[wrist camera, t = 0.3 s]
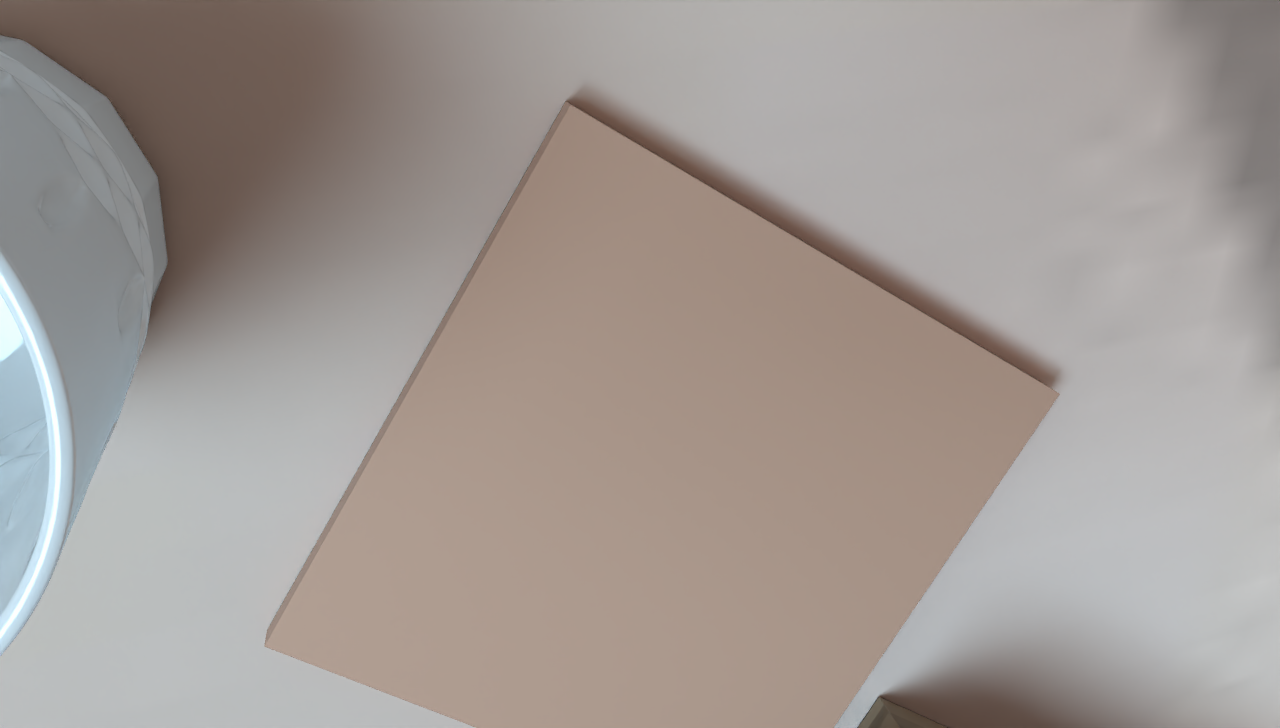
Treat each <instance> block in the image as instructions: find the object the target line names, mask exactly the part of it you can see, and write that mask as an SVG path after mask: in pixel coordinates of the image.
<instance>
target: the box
mask: <svg viewBox="0 0 1280 728" xmlns="http://www.w3.org/2000/svg"><path fill="white" fill-rule="evenodd" d="M858 728H948V727H945V726H943V725H941V724H939V723H936V722H934V721H932V720H930V719H927V718H925V717H923V716H921V715H918V714H916V713H914V712H912V711H910V710H907V709H905V708H903V707H901V706H898V705H896V704H894V703H892V702H889V701H887V700H885V699H883V698H881V697H879V698H878V699H877V701H876V702H875V703H874V705H873V706H872V708H871V709H870V711H869V712H868V714H867V715H866V717H865V718H864V720H863V721H862V723H861V724H860V725H859V727H858Z"/></svg>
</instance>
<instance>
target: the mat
mask: <svg viewBox="0 0 1280 728" xmlns="http://www.w3.org/2000/svg"><path fill="white" fill-rule="evenodd" d="M1058 396H1059V393H1057V392H1056V391H1054V390H1053V389H1051V388H1050V387H1048V386H1047V385H1045V384H1043V383H1042V382H1040V381H1038V380H1037V379H1035V378H1033V377H1032V376H1030V375H1028V374H1027V373H1025V372H1023V371H1021V370H1020V369H1018V368H1016V367H1015V366H1013V365H1011V364H1010V363H1008V362H1006V361H1005V360H1003V359H1001V358H999V357H998V356H996V355H994V354H993V353H991V352H989V351H988V350H986V349H984V348H983V347H981V346H979V345H977V344H976V343H974V342H972V341H971V340H969V339H967V338H966V337H964V336H962V335H961V334H959V333H957V332H955V331H954V330H952V329H950V328H949V327H947V326H945V325H944V324H942V323H940V322H939V321H937V320H935V319H934V318H932V317H930V316H928V315H927V314H925V313H923V312H922V311H920V310H918V309H917V308H915V307H913V306H912V305H910V304H908V303H906V302H905V301H903V300H901V299H900V298H898V297H896V296H895V295H893V294H891V293H890V292H888V291H886V290H884V289H883V288H881V287H879V286H878V285H876V284H874V283H873V282H871V281H869V280H868V279H866V278H864V277H862V276H861V275H859V274H857V273H856V272H854V271H852V270H851V269H849V268H847V267H846V266H844V265H842V264H840V263H839V262H837V261H835V260H834V259H832V258H830V257H829V256H827V255H825V254H824V253H822V252H820V251H818V250H817V249H815V248H813V247H812V246H810V245H808V244H807V243H805V242H803V241H802V240H800V239H798V238H797V237H795V236H793V235H791V234H790V233H788V232H786V231H785V230H783V229H781V228H780V227H778V226H776V225H775V224H773V223H771V222H769V221H768V220H766V219H764V218H763V217H761V216H759V215H758V214H756V213H754V212H753V211H751V210H749V209H747V208H746V207H744V206H742V205H741V204H739V203H737V202H736V201H734V200H732V199H731V198H729V197H727V196H725V195H724V194H722V193H720V192H719V191H717V190H715V189H714V188H712V187H710V186H709V185H707V184H705V183H703V182H702V181H700V180H698V179H697V178H695V177H693V176H692V175H690V174H688V173H687V172H685V171H683V170H681V169H680V168H678V167H676V166H675V165H673V164H671V163H670V162H668V161H666V160H665V159H663V158H661V157H660V156H658V155H656V154H654V153H653V152H651V151H649V150H648V149H646V148H644V147H643V146H641V145H639V144H638V143H636V142H634V141H632V140H631V139H629V138H627V137H626V136H624V135H622V134H621V133H619V132H617V131H616V130H614V129H612V128H610V127H609V126H607V125H605V124H604V123H602V122H600V121H599V120H597V119H595V118H594V117H592V116H590V115H588V114H587V113H585V112H583V111H582V110H580V109H578V108H577V107H575V106H573V105H572V104H570V103H568V102H565V103H564V105H563V107H562V109H561V110H560V112H559V114H558V116H557V118H556V119H555V121H554V123H553V125H552V126H551V128H550V130H549V132H548V134H547V135H546V137H545V139H544V141H543V142H542V144H541V146H540V148H539V149H538V151H537V153H536V155H535V157H534V158H533V160H532V162H531V164H530V165H529V167H528V169H527V171H526V172H525V174H524V176H523V178H522V180H521V181H520V183H519V185H518V187H517V188H516V190H515V192H514V194H513V196H512V197H511V199H510V201H509V203H508V204H507V206H506V208H505V210H504V211H503V213H502V215H501V217H500V219H499V220H498V222H497V224H496V226H495V227H494V229H493V231H492V233H491V235H490V236H489V238H488V240H487V242H486V243H485V245H484V247H483V249H482V250H481V252H480V254H479V256H478V258H477V259H476V261H475V263H474V265H473V266H472V268H471V270H470V272H469V273H468V275H467V277H466V279H465V281H464V282H463V284H462V286H461V288H460V289H459V291H458V293H457V295H456V297H455V298H454V300H453V302H452V304H451V305H450V307H449V309H448V311H447V312H446V314H445V316H444V318H443V320H442V321H441V323H440V325H439V327H438V328H437V330H436V332H435V334H434V335H433V337H432V339H431V341H430V343H429V344H428V346H427V348H426V350H425V351H424V353H423V355H422V357H421V359H420V360H419V362H418V364H417V366H416V367H415V369H414V371H413V373H412V374H411V376H410V378H409V380H408V382H407V383H406V385H405V387H404V389H403V390H402V392H401V394H400V396H399V398H398V399H397V401H396V403H395V405H394V406H393V408H392V410H391V412H390V413H389V415H388V417H387V419H386V421H385V422H384V424H383V426H382V428H381V429H380V431H379V433H378V435H377V436H376V438H375V440H374V442H373V444H372V445H371V447H370V449H369V451H368V452H367V454H366V456H365V458H364V460H363V461H362V463H361V465H360V467H359V468H358V470H357V472H356V474H355V475H354V477H353V479H352V481H351V483H350V484H349V486H348V488H347V490H346V491H345V493H344V495H343V497H342V499H341V500H340V502H339V504H338V506H337V507H336V509H335V511H334V513H333V514H332V516H331V518H330V520H329V522H328V523H327V525H326V527H325V529H324V530H323V532H322V534H321V536H320V537H319V539H318V541H317V543H316V545H315V546H314V548H313V550H312V552H311V553H310V555H309V557H308V559H307V561H306V562H305V564H304V566H303V568H302V569H301V571H300V573H299V575H298V576H297V578H296V580H295V582H294V584H293V585H292V587H291V589H290V591H289V592H288V594H287V596H286V598H285V600H284V601H283V603H282V605H281V607H280V608H279V610H278V612H277V614H276V615H275V617H274V619H273V621H272V623H271V624H270V626H269V628H268V630H267V634H266V640H265V647H267V648H270V649H272V650H275V651H278V652H280V653H283V654H286V655H288V656H291V657H293V658H296V659H299V660H301V661H304V662H306V663H309V664H312V665H314V666H317V667H319V668H322V669H325V670H327V671H330V672H332V673H335V674H338V675H340V676H343V677H346V678H348V679H351V680H353V681H356V682H359V683H361V684H364V685H366V686H369V687H372V688H374V689H377V690H379V691H382V692H385V693H387V694H390V695H392V696H395V697H398V698H400V699H403V700H406V701H408V702H411V703H413V704H416V705H419V706H421V707H424V708H426V709H429V710H432V711H434V712H437V713H439V714H442V715H445V716H447V717H450V718H452V719H455V720H458V721H460V722H463V723H466V724H468V725H471V726H473V727H476V728H834V726H835V725H836V723H837V722H838V720H839V719H840V717H841V716H842V714H843V713H844V711H845V710H846V708H847V707H848V705H849V704H850V702H851V701H852V700H853V698H854V697H855V695H856V694H857V692H858V691H859V689H860V688H861V686H862V685H863V683H864V682H865V680H866V679H867V677H868V676H869V674H870V673H871V672H872V670H873V669H874V667H875V666H876V664H877V663H878V661H879V660H880V658H881V657H882V655H883V654H884V652H885V651H886V649H887V648H888V646H889V645H890V644H891V642H892V641H893V639H894V638H895V636H896V635H897V633H898V632H899V630H900V629H901V627H902V626H903V624H904V623H905V621H906V620H907V618H908V617H909V616H910V614H911V613H912V611H913V610H914V608H915V607H916V605H917V604H918V602H919V601H920V599H921V598H922V596H923V595H924V593H925V592H926V590H927V589H928V588H929V586H930V585H931V583H932V582H933V580H934V579H935V577H936V576H937V574H938V573H939V571H940V570H941V568H942V567H943V565H944V564H945V562H946V561H947V559H948V558H949V557H950V555H951V554H952V552H953V551H954V549H955V548H956V546H957V545H958V543H959V542H960V540H961V539H962V537H963V536H964V534H965V533H966V531H967V530H968V529H969V527H970V526H971V524H972V523H973V521H974V520H975V518H976V517H977V515H978V514H979V512H980V511H981V509H982V508H983V506H984V505H985V503H986V502H987V501H988V499H989V498H990V496H991V495H992V493H993V492H994V490H995V489H996V487H997V486H998V484H999V483H1000V481H1001V480H1002V478H1003V477H1004V475H1005V474H1006V473H1007V471H1008V470H1009V468H1010V467H1011V465H1012V464H1013V462H1014V461H1015V459H1016V458H1017V456H1018V455H1019V453H1020V452H1021V450H1022V449H1023V447H1024V446H1025V445H1026V443H1027V442H1028V440H1029V439H1030V437H1031V436H1032V434H1033V433H1034V431H1035V430H1036V428H1037V427H1038V425H1039V424H1040V422H1041V421H1042V419H1043V418H1044V417H1045V415H1046V414H1047V412H1048V411H1049V409H1050V408H1051V406H1052V405H1053V403H1054V402H1055V400H1056V399H1057V397H1058Z"/></svg>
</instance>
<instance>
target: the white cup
mask: <svg viewBox="0 0 1280 728" xmlns="http://www.w3.org/2000/svg"><path fill="white" fill-rule="evenodd" d="M167 263H168V260H167V251H166V242H165V234H164V225H163V216H162V208H161V199H160V191H159V182H158V177H157V175H156V173H155V172H154V170H153V169H152V167H151V165H150V164H149V162H148V161H147V159H146V158H145V156H144V154H143V153H142V151H141V150H140V148H139V146H138V145H137V143H136V142H135V140H134V139H133V137H132V135H131V134H130V132H129V131H128V129H127V128H126V126H125V124H124V123H123V121H122V120H121V118H120V117H119V115H118V113H117V112H116V110H115V109H114V107H113V105H112V104H111V102H110V101H109V99H108V98H107V97H106V96H104V95H103V94H101V93H100V92H98V91H97V90H96V89H94V88H93V87H91V86H90V85H88V84H87V83H85V82H84V81H82V80H81V79H80V78H78V77H77V76H75V75H74V74H72V73H71V72H69V71H68V70H66V69H65V68H63V67H62V66H61V65H59V64H58V63H56V62H55V61H53V60H52V59H50V58H49V57H47V56H46V55H45V54H43V53H42V52H40V51H39V50H37V49H36V48H34V47H33V46H31V45H30V44H28V43H27V42H25V41H23V40H20V39H16V38H11V37H6V36H1V35H0V656H1V655H2V654H3V652H4V651H5V650H6V649H7V648H8V647H9V645H10V644H11V643H12V642H13V640H14V639H15V638H16V636H17V635H18V634H19V632H20V631H21V629H22V628H23V627H24V625H25V624H26V622H27V621H28V619H29V618H30V616H31V614H32V613H33V611H34V609H35V608H36V606H37V604H38V602H39V601H40V599H41V597H42V595H43V593H44V591H45V589H46V587H47V585H48V583H49V581H50V579H51V576H52V574H53V572H54V569H55V567H56V564H57V562H58V560H59V557H60V555H61V552H62V550H63V547H64V545H65V542H66V540H67V538H68V535H69V533H70V530H71V528H72V526H73V523H74V521H75V519H76V516H77V514H78V512H79V509H80V507H81V505H82V502H83V500H84V497H85V494H86V492H87V489H88V486H89V484H90V481H91V479H92V477H93V474H94V472H95V470H96V468H97V465H98V463H99V461H100V459H101V456H102V454H103V452H104V450H105V448H106V446H107V443H108V441H109V439H110V437H111V435H112V433H113V430H114V428H115V426H116V423H117V420H118V419H119V416H120V413H121V410H122V407H123V404H124V401H125V397H126V394H127V390H128V388H129V386H130V384H131V381H132V378H133V375H134V372H135V369H136V366H137V363H138V359H139V356H140V354H141V352H142V349H143V346H144V343H145V340H146V336H147V331H148V325H149V317H150V309H151V304H152V302H153V299H154V297H155V294H156V292H157V289H158V287H159V284H160V282H161V279H162V277H163V274H164V272H165V269H166V267H167Z"/></svg>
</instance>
